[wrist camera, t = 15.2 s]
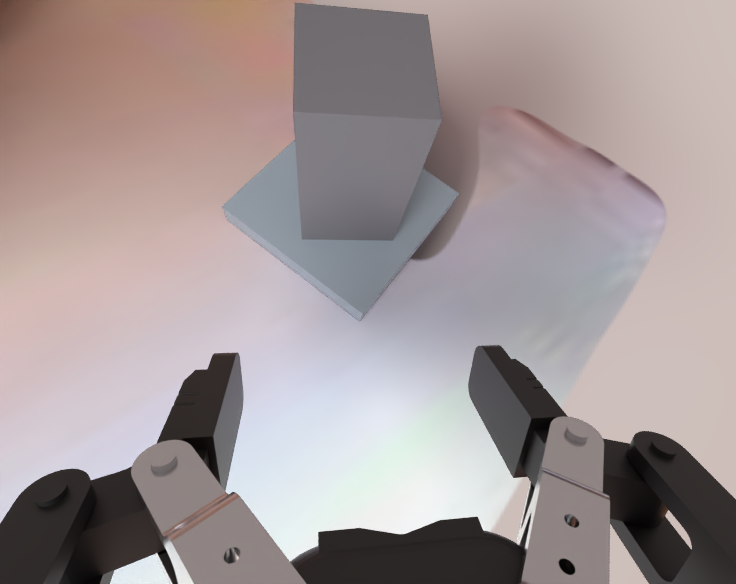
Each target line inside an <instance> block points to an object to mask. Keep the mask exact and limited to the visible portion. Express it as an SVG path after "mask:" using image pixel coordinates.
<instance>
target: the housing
mask: <svg viewBox="0 0 736 584" xmlns="http://www.w3.org/2000/svg"><path fill="white" fill-rule="evenodd" d="M293 116H294V131H295V146H296V161H297V176H298V191H299V205H300V220H301V235H302V239H303V240H384V241H393V239H394V237H395V234H396V232H397V229H398V227H399V224H400V222H401V219H402V217H403V215H404V212H405V210H406V207H407V205H408V202H409V200H410V197H411V195H412V193H413V190H414V188H415V185H416V183H417V180H418V178H419V175H420V173H421V171H422V168H423V166H424V163H425V161H426V158H427V156H428V153H429V151H430V148H431V146H432V144H433V141H434V139H435V136H436V134H437V131H438V129H439V126H440V124H441V122H442V116H441V109H440V101H439V93H438V86H437V79H436V71H435V64H434V57H433V50H432V43H431V35H430V29H429V20H428V15H424V14H413V13H412V14H411V13H401V12H391V11H379V10H369V9H357V8H347V7H336V6H325V5H314V4H303V3H295V25H294V91H293Z"/></svg>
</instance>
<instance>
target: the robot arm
mask: <svg viewBox="0 0 736 584" xmlns="http://www.w3.org/2000/svg"><path fill="white" fill-rule="evenodd" d="M468 387H469V394H470V398H471V400H472V402H473V404H474V406H475V408H476V409H477V411H478V413H479V415H480V417H481V419H482V421H483V422H484V424H485V426H486V428H487V430H488V432H489V434H490V435H491V437H492V439H493V441H494V443H495V445H496V447H497V448H498V450H499V452H500V454H501V456H502V458H503V460H504V462H505V463H506V465H507V467H508V469H509V471H510V473H511V475H512V476H513V478H517V477H528V478H529V480H530V481H531V483H530V487H529V489H528V494H527V498H526V503H525V507H524V511H523V516H522V520H521V524H520V529H519V533H518V538H517V542H516V543H515V542H513V541H511V540H509V539H507V538H505V537H502V536H500V535H498V534H495V533H491V532H488V531H483V529H482V527H481V524H480V522H479V519H478V517H470V518H459V519H449V520H440V521H437V522H435V523H432V524H429V525H427V526H424V527H422V528H419V529H417V530H414V531H412V532H409V533H406V534H393V533H387V532H380V531H374V530H368V529H362V528H355V529H345V530H334V531H324V532H318V546H317V547H315V548H312V549H310V550H308V551H306V552H304V553H302V554H300V555H299V556H297V557H296V558H295V559H293V560H292V561H289V560H288V559H287V558H286V556H285V555H284V554H283V552H282V551H281V550H280V548H279V547H278V546H277V544H276V543H275V542H274V540H273V539H272V538H271V537H270V535H269V534H268V533H267V531H266V530H265V529H264V527H263V526H262V525H261V523H260V522H259V521H258V519H257V518H256V517H255V516H254V514H253V513H252V512H251V510H250V509H249V508H248V506H247V505H246V504H245V502H244V501H243V500H242V499H241V497H240V496H239V495H238V494H237V493H235V492H232V493H231V494H229V495H228V494H227V493H226V492H225V490H226V485H227V480H228V476H229V471H230V466H231V461H232V457H233V452H234V447H235V442H236V438H237V433H238V428H239V424H240V419H241V414H242V409H243V385H242V375H241V366H240V357H239V354H238V353H214V354H213V356H212V359H211V361H210V364H209V367H208V369H207V370H195V371H194V372H193V373H192V374H191V375H190V376H189V377H188V378H187V379H185V380H184V382H183V384H182V387H181V389H180V391H179V395H178V396H177V398H176V400H175V403H174V406H173V407H172V409H171V412H170V414H169V416H168V418H167V421H166V423H165V425H164V428H163V430H162V432H161V434H160V437H159V439H158V441H157V444H155V445H153V446H151V447H149V448H148V449H146V450H145V451H144V452H142V453H141V454H140V455H139V456H138V457H137V459H136V460H135V462H134V463H133V466H132V467H130V468H128V469H126V470H123V471H120V472H117V473H114V474H111V475H107V476H104V477H101V478H98V479H94V480H90V477H89V475H88V474H87V473H86V472H84V471H82V470H79V469H65V470H60V471H57V472H54V473H51V474H48V475H46V476H44V477H42V478H40V479H39V480H37V481H35V482H34V483H32V484H31V485H30V486H29V487H27V488H26V489H25V490H24V491H23V492H22V493H21V494H20V495H19V496H18V498H17V499H16V501H15V502H14V504H13V505H12V507H11V508H10V510H9V511H8V513H7V514H6V516H5V517H4V519H3V520H2V522H1V523H0V584H110V581H111V578H112V575H113V573H114V570H116V569H118V568H121V567H123V566H126V565H128V564H131V563H133V562H136V561H138V560H141V559H143V558H146V557H148V556H151V555H153V554H155V555H156V557H157V559H158V561H159V563H160V565H161V567H162V569H163V571H164V573H165V575H166V577H167V579H168V581H169V583H170V584H609V552H610V548H609V547H610V524H611V525H612V527H613V529H614V530H615V531H616V533H617V535H618V536H619V538H620V539H621V541H622V542H623V544H624V546H625V547H626V549H627V550H628V552H629V553H630V555H631V556H632V558H633V559H634V561H635V563H636V564H637V565H638V567H639V569H640V570H641V572H642V573H643V575H644V576H645V578H646V580H647V581H648V583H649V584H736V499H735V498H734V497H733V496H732V495H730V493H728V491H727V490H726V489H725V488H724V487H722V485H721V484H720V483H718V481H717V480H716V479H714V477H713V476H712V475H711V474H710V473H709V472H708V471H707V470H706V469H704V467H703V466H702V465H701V464H700V463H699V462H698V461H697V460H696V459H695V458H694V457H693V456H692V455H691V454H690V453H689V452H688V451H687V450H686V449H685V448H683V447H682V446H681V445H680V444H678V443H677V442H675V441H674V440H672V439H670V438H668V437H666V436H664V435H661V434H658V433H654V432H649V431H642V432H638V433H636V434H635V435H634V437H633V439H632V441H631V444H628V443H623V442H618V441H612V440H607V439H603V438H602V437H601V435H600V434H599V432H598V431H597V430H596V429H594V428H593V427H592V426H591V425H589V424H587V423H586V422H583V421H581V420H579V419H576V418H572V417H568V416H567V415H566V414H565V413H564V411H563V410H562V409H561V408H560V407H559V405H558V404H557V403H556V402H555V400H554V399H553V398H552V397H551V395H550V394H549V393H548V392H547V390H546V389H544V388H543V386H542V384H541V383H540V382H539V381H538V380H536V377H535V376H534V374H533V373H532V372H531V371H530V370H529V368H528V367H526V366H525V365H523V364H522V363H520V362H519V361H517V360H516V359H511V358H510V357H509V356H508V354H507V353H506V352H505V351H504V349H503V348H502V347H501V346H499V345H491V346H477V348H476V350H475V353H474V358H473V363H472V368H471V373H470V378H469V384H468ZM668 510H669V511H670V512H671V513H672V514H673V516H674V517H675V518H676V519H677V520H678V522H679V523H680V524H681V525H682V527H683V528H684V529H685V531H686V532H687V534H688V535H689V537H690V540H691V544H692V550H691V549H690V548H689V546H688V545H687V544H686V543H685V541H684V540H683V539H682V538H681V536H680V535H679V534H678V532H677V531H676V530H675V529H674V527H673V526H672V525H671V524H670V522H669V521H668V520H667V518H666V517H665V515H666V513H667V511H668Z"/></svg>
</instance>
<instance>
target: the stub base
mask: <svg viewBox="0 0 736 584" xmlns="http://www.w3.org/2000/svg"><path fill="white" fill-rule="evenodd" d="M458 195H459V193H458V192H456V191H455V190H453V189H452V188H451V187H449V186H448V185H446V184H445V183H443V182H442V181H441V180H439V179H438V178H436V177H435V176H433V175H432V174H431V173H429V172H428V171H426V170H425V169H423V168H422V171H421V173H420V175H419V178H418V180H417V183H416V185H415V188H414V190H413V193H412V195H411V197H410V200H409V202H408V205H407V207H406V210H405V212H404V215H403V217H402V219H401V222H400V224H399V227H398V229H397V232H396V234H395V237H394V239H393V241H384V240H303V239H302V235H301V220H300V205H299V191H298V176H297V161H296V146H295V140H294V141H293V142H292V143H291V144H290V145H289V146H287V147H286V148H285V149H284V150H283V151H282V152H281V153H280V154H279V155H278V156H276V157H275V158H274V159H273V160H272V161H271V162H270V163H269V164H268V165H267V166H266V167H264V168H263V169H262V170H261V171H260V172H259V173H258V174H257V175H256V176H255V177H254V178H252V179H251V180H250V181H249V182H248V183H247V184H246V185H245V186H244V187H243V188H242V189H240V190H239V191H238V192H237V193H236V194H235V195H234V196H233V197H232V198H231V199H230V200H228V201H227V202H226V203H225V204H224V205H223V206H222V208H223V211H224V213H225V216H226V218H227V220H228V221H229V222H231V223H232V224H233V225H235V226H236V227H237V228H238V229H240V230H241V231H242V232H244V233H245V234H246V235H248V236H249V237H250V238H252V239H253V240H254V241H255V242H257V243H258V244H259V245H261V246H262V247H263V248H265V249H266V250H267V251H268V252H270V253H271V254H272V255H274V256H275V257H276V258H278V259H279V260H280V261H282V262H283V263H284V264H285V265H287V266H288V267H289V268H291V269H292V270H293V271H295V272H296V273H297V274H299V275H300V276H301V277H302V278H304V279H305V280H306V281H308V282H309V283H310V284H312V285H313V286H314V287H316V288H317V289H318V290H319V291H321V292H322V293H323V294H325V295H326V296H327V297H329V298H330V299H331V300H333V301H334V302H335V303H336V304H338V305H339V306H340V307H342V308H343V309H344V310H346V311H347V312H348V313H349V314H351V315H352V316H353V317H355V318H356V319H357V320H359V321H360V320H361V319H362V318H363V317H364V315H365V314H366V313H367V312H368V310H369V309H370V308H371V307H372V305H373V304H374V303H375V302H376V300H377V299H378V298H379V297H380V295H381V294H382V293H383V292H384V290H385V289H386V288H387V287H388V285H389V284H390V283H391V282H392V280H393V279H394V278H395V277H396V275H397V274H398V273H399V272H400V270H401V269H402V268H403V267H404V265H405V264H406V263H407V261H408V260H409V259H410V258H411V256H412V255H413V254H414V253H415V251H416V250H417V249H418V248H419V246H420V245H421V244H422V243H423V241H424V240H425V239H426V238H427V236H428V235H429V234H430V233H431V231H432V230H433V229H434V227H435V226H436V225H437V224H438V222H439V221H440V220H441V219H442V218H443V216H444V215H445V214H446V212H447V211H448V210H449V209H450V207H451V206H452V205H453V203H454V201H455V200H456V198H457V196H458Z"/></svg>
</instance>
